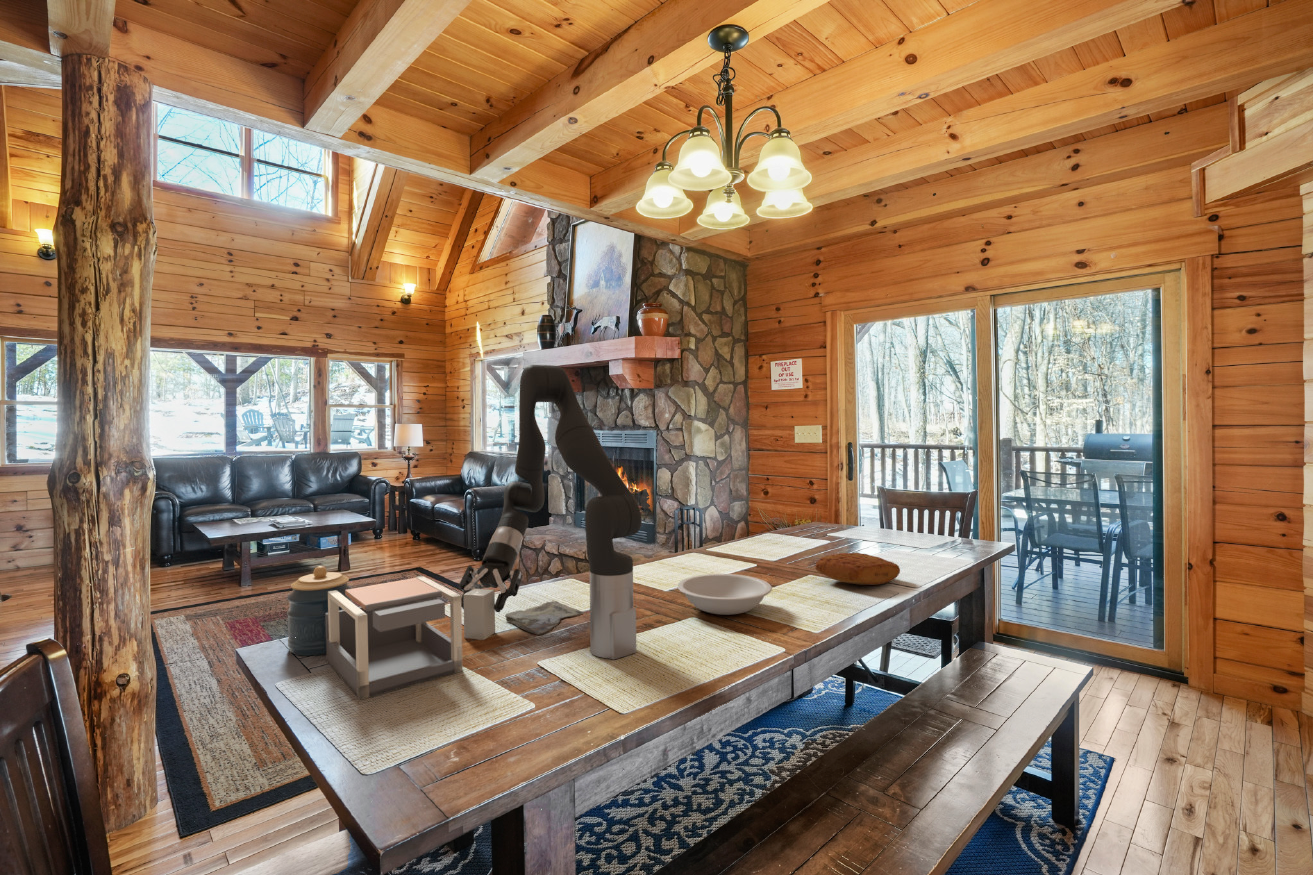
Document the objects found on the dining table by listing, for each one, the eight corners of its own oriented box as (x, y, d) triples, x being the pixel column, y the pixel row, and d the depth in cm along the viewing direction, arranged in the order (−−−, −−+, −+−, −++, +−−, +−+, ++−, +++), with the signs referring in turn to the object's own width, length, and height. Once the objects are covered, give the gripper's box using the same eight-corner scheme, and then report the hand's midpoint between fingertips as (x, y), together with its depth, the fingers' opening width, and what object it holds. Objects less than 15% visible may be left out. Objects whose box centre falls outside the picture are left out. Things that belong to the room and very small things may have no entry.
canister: (343, 631, 147) (341, 556, 146) (363, 645, 138) (361, 566, 137) (280, 645, 138) (278, 566, 137) (297, 662, 128) (295, 576, 128)
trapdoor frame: (462, 670, 123) (461, 595, 123) (359, 699, 111) (357, 616, 110) (419, 639, 141) (417, 573, 141) (326, 661, 129) (324, 589, 128)
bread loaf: (856, 595, 173) (856, 567, 173) (809, 582, 187) (809, 555, 187) (905, 583, 185) (905, 556, 185) (858, 571, 199) (858, 546, 199)
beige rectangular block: (495, 632, 145) (494, 589, 145) (484, 639, 141) (483, 595, 140) (475, 630, 147) (475, 588, 146) (464, 638, 142) (463, 594, 141)
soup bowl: (791, 614, 157) (792, 588, 157) (718, 633, 144) (718, 605, 144) (729, 592, 177) (729, 569, 177) (659, 607, 164) (659, 582, 163)
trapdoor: (345, 609, 126) (345, 589, 126) (415, 596, 135) (415, 577, 135) (373, 633, 112) (373, 610, 112) (450, 616, 121) (449, 595, 121)
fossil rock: (550, 607, 166) (550, 598, 166) (592, 618, 157) (592, 608, 157) (496, 624, 152) (496, 615, 152) (538, 638, 143) (538, 627, 143)
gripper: (471, 539, 153) (445, 599, 143) (524, 542, 150) (502, 603, 139) (483, 556, 159) (458, 614, 148) (534, 559, 155) (513, 619, 145)
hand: (479, 609), depth 144 cm, fingers open, 8 cm apart
